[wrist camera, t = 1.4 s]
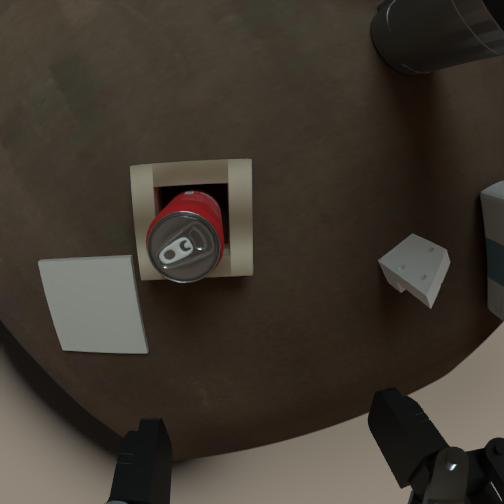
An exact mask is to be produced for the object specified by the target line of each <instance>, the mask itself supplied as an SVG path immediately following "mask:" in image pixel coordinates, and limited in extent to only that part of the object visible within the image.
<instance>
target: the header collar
mask: <svg viewBox="0 0 504 504" xmlns="http://www.w3.org/2000/svg"><path fill="white" fill-rule="evenodd" d="M130 174H131V190H132V204H133V215H134V226H135V235H136V244H137V253H138V260H139V268H140V275H141V280H161V279H167V278H165V277H163V276H162V275H161V274H159V273H158V272H157V271H156V269H155V268H154V267H153V265H152V264H151V262H150V260H149V257H148V253H147V249H146V236H147V231H148V229H149V226H150V224H151V223H152V221H153V220H154V218H155V217H156V216H157V215H158V214H159V213H160V212H161V211H162V210H163V206H162V190H161V186H175V185H192V184H212V183H227V208H228V239H229V243H227V244H224V251H223V255H222V258H221V260H220V262H219V264H218V265H217V267H216V268H215V269H214V270H213V271H212V272H211V273H210V274H208V275H207V276H206V277H204V278H208V277H228V276H247V275H253V232H252V159H224V160H200V161H182V162H168V163H155V164H144V165H135V166H130Z"/></svg>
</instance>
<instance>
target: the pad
mask: <svg viewBox="0 0 504 504" xmlns="http://www.w3.org/2000/svg"><path fill="white" fill-rule="evenodd" d="M38 265H39V269H40V274H41V278H42V282H43V286H44V290H45V294H46V298H47V302H48V305H49V309H50V312H51V316H52V319H53V322H54V326H55V329H56V332H57V335H58V338H59V341H60V344H61V347H62V349H63V350H68V351H83V352H103V353H148V351H149V348H148V343H147V338H146V334H145V329H144V324H143V319H142V313H141V308H140V302H139V296H138V290H137V284H136V278H135V271H134V264H133V257H132V255H124V256H104V257H83V258H64V259H44V260H40V261H38Z"/></svg>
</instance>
